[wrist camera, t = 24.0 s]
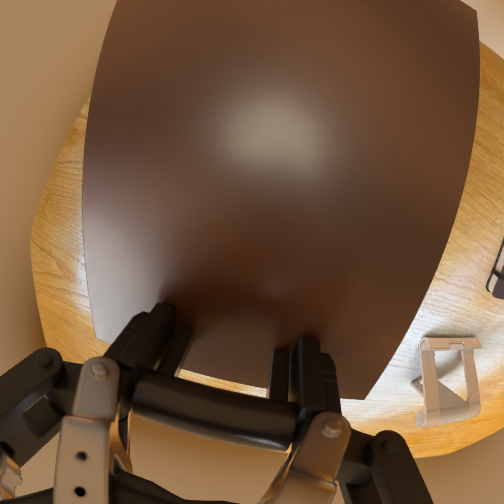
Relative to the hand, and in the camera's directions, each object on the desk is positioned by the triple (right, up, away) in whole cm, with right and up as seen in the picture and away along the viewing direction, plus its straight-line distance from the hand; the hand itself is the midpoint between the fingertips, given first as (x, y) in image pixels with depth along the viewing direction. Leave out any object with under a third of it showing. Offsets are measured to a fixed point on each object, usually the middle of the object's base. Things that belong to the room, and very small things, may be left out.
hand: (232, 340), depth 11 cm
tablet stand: (+23, -9, +15) cm, 29 cm away
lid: (+1, +6, -2) cm, 7 cm away
